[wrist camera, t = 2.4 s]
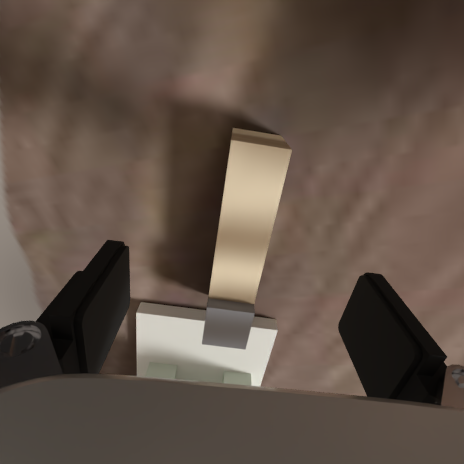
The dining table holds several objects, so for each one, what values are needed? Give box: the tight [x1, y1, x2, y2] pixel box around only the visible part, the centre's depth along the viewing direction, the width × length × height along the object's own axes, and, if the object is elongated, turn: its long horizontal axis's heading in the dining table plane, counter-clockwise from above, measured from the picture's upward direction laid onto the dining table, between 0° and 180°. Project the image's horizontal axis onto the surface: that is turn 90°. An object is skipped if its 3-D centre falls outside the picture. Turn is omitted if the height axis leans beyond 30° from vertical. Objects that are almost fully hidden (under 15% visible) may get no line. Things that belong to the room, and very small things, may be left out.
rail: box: [202, 128, 292, 350], centre depth 22 cm, size 16×4×6 cm, turn 171°
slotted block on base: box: [136, 302, 278, 386], centre depth 28 cm, size 15×14×12 cm
